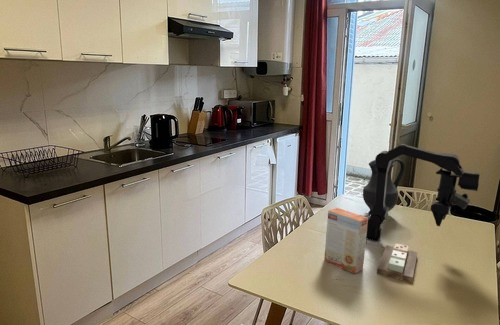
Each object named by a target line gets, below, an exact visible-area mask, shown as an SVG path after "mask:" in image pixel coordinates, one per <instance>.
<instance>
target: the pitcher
mask: <svg viewBox="0 0 500 325" xmlns="http://www.w3.org/2000/svg"><path fill="white" fill-rule="evenodd" d="M396 162H398V163H399V164H400V171H399V172H398V174H397V176H396V178H395V180H394V181H393V180H392V179H393V178H392V177H391V176H392V175H391V172H392V169H393V168H394V167H395V163H396ZM368 166H369V168H370V169H371V176H370V179H369V181H368V183H367V184H366V185H365V186H363V189H362V198H363V201H364V203H365V205H366V206H367V208H369V211H368V213H367V214H369V216H370V215H371V213H372V210H373V207H374V204H375V196H376V185H377V174H378V173H377V169H376V162H375V159H373V160H371V161H370V162H368ZM404 172H405V163H404V161H403V160H401V159H399V158H398V157H397V158H395V159H393V160H392V162H391V165H390V168H389V171H388V176H387V186H386V196H385V206H386V207H389V210H388V213H389V212H390V211H391V210H393V209H394V207H395V206H396V204H397V203H398V199H399V191H398V186H399V184H400V182H401V180H402V177H403V175H404Z"/></svg>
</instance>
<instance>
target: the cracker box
mask: <svg viewBox="0 0 500 325" xmlns="http://www.w3.org/2000/svg"><path fill="white" fill-rule="evenodd" d="M367 225H368V217H367V216H364V215H361V214H359V213H355V212H351V211H349V210H345V209H342V208H339V207H334V208H332V209H329V210H328V211H327V224H326V234H325V244H324V247H325V248H324V257H323V258H324V261H327V262H329V263H330V264H333V265H335V266H338V267H340V268H341V269H344V270H346V271H348V272H351V273H352V274H357V273H359V272H361V271H362V270H363V269H364V262H365V252H366V244H367V239H366V235H367Z"/></svg>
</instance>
